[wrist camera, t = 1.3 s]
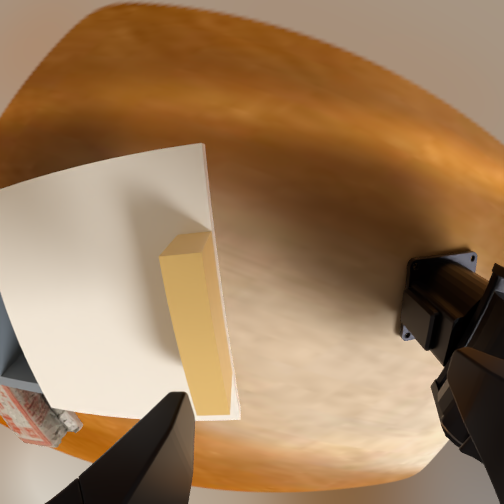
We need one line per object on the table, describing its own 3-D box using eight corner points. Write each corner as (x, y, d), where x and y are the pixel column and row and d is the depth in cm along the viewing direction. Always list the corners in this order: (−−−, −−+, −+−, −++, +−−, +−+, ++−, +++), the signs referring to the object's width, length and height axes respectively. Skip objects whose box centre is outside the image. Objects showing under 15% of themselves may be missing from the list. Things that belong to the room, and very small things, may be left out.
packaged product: (72, 456, 20) (12, 445, 21) (88, 423, 25) (29, 419, 25) (-36, 281, 15) (-75, 300, 16) (0, 261, 20) (-46, 282, 20)
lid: (204, 144, 10) (187, 137, 7) (240, 408, 14) (240, 459, 11) (-11, 194, 11) (-58, 207, 7) (56, 399, 14) (33, 435, 11)
